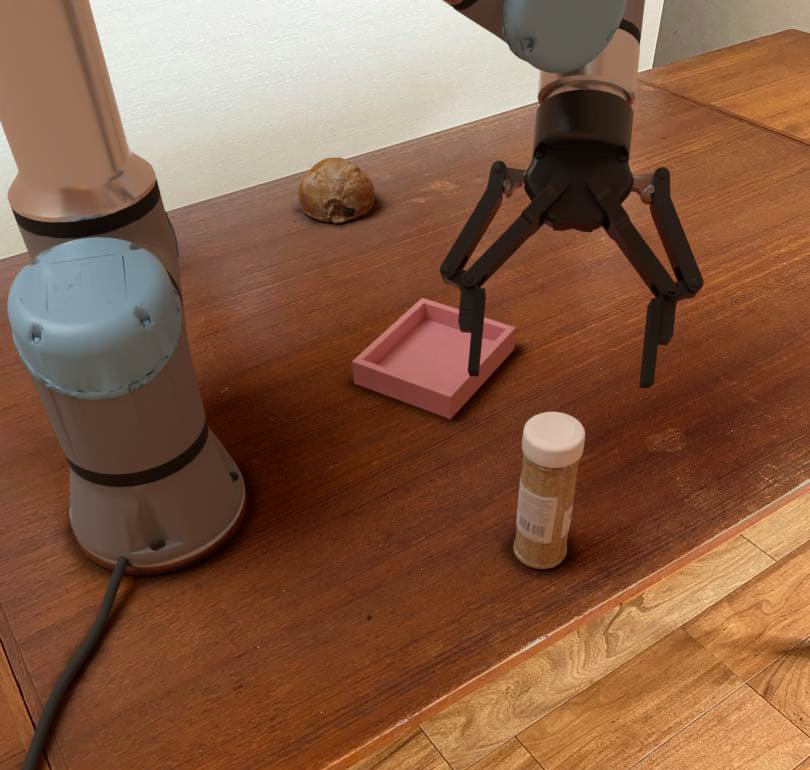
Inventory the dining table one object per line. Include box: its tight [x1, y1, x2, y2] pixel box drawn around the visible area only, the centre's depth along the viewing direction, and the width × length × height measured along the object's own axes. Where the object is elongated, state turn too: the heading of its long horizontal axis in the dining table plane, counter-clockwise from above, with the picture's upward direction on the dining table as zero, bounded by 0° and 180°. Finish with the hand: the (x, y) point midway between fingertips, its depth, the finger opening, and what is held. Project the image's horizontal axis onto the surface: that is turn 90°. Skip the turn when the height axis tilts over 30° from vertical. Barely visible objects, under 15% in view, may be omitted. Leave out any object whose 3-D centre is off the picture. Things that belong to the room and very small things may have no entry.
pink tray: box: [351, 297, 517, 420], centre depth 90 cm, size 14×12×3 cm
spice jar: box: [512, 411, 586, 570], centre depth 68 cm, size 5×5×14 cm
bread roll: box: [297, 157, 376, 225], centre depth 114 cm, size 10×10×8 cm
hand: (558, 380), depth 69 cm, fingers open, 13 cm apart
